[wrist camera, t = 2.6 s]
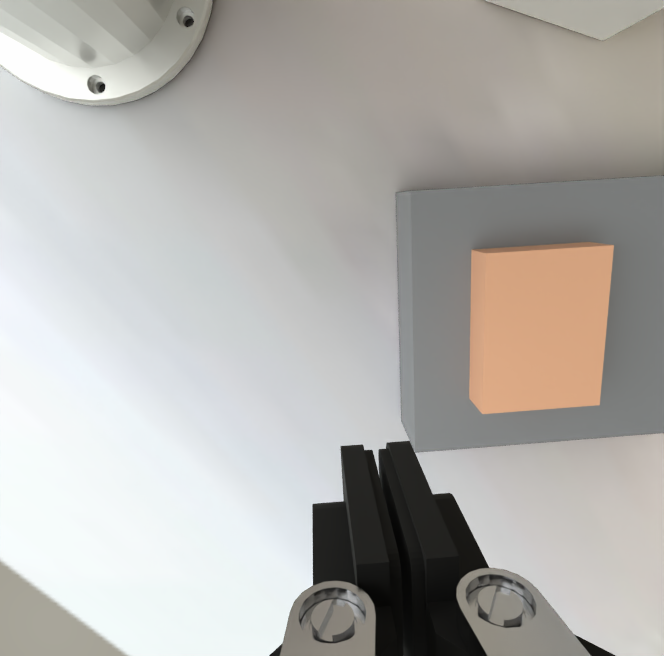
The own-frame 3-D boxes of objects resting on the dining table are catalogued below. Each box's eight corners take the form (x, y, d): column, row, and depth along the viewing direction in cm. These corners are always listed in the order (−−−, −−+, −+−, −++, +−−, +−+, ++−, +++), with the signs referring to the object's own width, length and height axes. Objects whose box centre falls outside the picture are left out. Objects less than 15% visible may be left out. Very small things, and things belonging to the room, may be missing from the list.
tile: (471, 249, 24) (485, 253, 22) (589, 241, 24) (613, 245, 22) (469, 398, 26) (482, 414, 24) (577, 390, 26) (599, 405, 24)
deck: (395, 192, 27) (410, 190, 23) (672, 175, 27) (733, 171, 23) (401, 421, 30) (415, 452, 26) (646, 402, 31) (695, 430, 27)
